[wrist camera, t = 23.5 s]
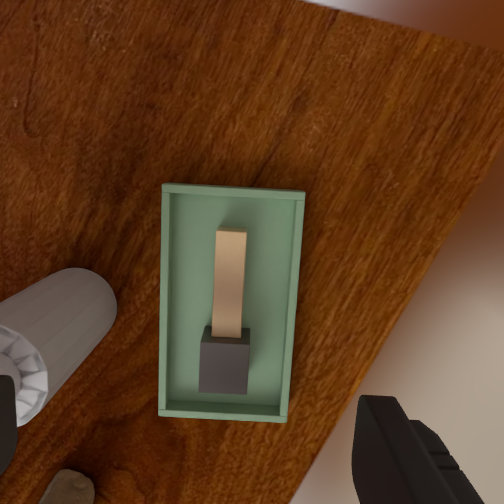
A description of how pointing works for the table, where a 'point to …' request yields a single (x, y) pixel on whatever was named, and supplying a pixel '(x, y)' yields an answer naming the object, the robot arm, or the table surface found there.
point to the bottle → (52, 333)
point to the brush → (226, 319)
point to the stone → (69, 489)
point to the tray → (254, 299)
